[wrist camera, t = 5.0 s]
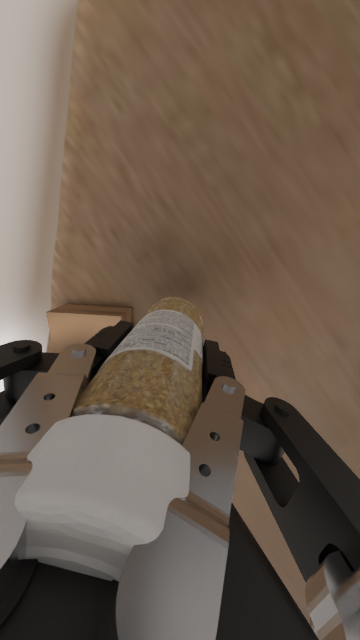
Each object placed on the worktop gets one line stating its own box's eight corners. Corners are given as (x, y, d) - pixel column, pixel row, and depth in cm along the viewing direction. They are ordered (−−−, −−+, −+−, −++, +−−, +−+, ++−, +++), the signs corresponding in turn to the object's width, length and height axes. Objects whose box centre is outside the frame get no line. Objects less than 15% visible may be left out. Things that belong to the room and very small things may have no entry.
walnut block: (67, 303, 28) (46, 312, 24) (132, 307, 27) (121, 316, 23) (75, 362, 31) (58, 378, 27) (134, 367, 30) (125, 383, 26)
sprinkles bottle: (191, 358, 17) (159, 692, 4) (138, 337, 17) (-60, 621, 4) (213, 307, 15) (271, 598, 3) (155, 285, 15) (-79, 477, 2)
